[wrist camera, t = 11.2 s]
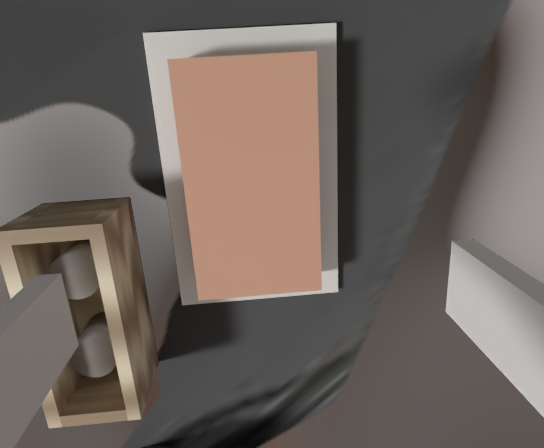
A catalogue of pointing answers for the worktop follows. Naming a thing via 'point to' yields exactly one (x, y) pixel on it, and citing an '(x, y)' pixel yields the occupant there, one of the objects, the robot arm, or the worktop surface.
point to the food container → (157, 447)
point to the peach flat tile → (250, 171)
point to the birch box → (90, 304)
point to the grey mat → (157, 53)
